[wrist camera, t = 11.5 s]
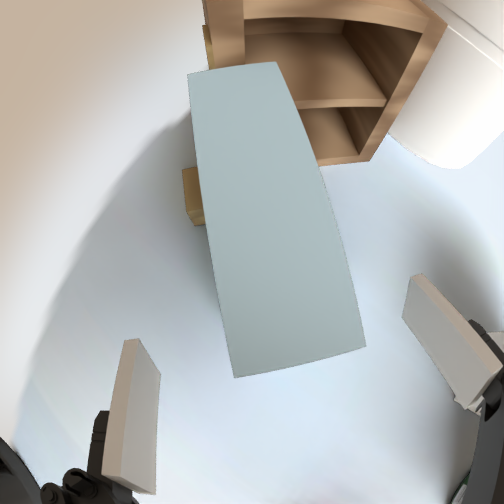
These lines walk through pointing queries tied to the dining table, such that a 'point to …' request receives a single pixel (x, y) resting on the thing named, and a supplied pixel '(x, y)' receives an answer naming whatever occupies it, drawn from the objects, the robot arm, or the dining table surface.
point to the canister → (458, 87)
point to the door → (269, 224)
